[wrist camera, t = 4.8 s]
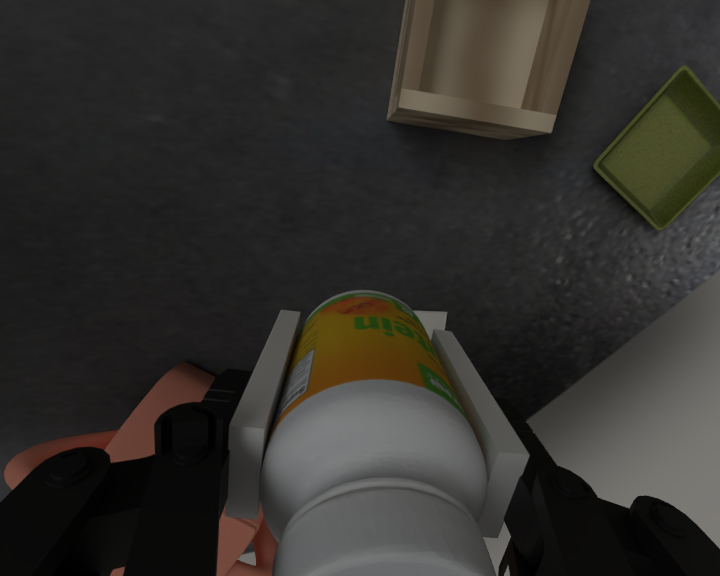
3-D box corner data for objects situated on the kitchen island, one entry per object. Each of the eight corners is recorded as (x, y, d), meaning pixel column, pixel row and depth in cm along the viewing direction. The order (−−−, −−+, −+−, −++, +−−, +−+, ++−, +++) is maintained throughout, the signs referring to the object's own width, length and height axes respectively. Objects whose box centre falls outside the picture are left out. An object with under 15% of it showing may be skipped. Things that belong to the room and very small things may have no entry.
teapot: (259, 524, 40) (217, 697, 27) (68, 435, 35) (-95, 593, 22) (364, 403, 35) (374, 543, 22) (159, 280, 31) (19, 367, 17)
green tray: (640, 229, 31) (661, 234, 29) (575, 166, 29) (591, 165, 27) (725, 144, 29) (753, 142, 27) (660, 69, 27) (685, 61, 25)
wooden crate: (386, 120, 27) (398, 107, 21) (410, -33, 24) (432, -101, 18) (506, 140, 28) (551, 132, 22) (543, -6, 25) (608, -62, 19)
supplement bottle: (451, 322, 15) (629, 588, 5) (386, 419, 16) (439, 759, 7) (333, 263, 14) (309, 467, 4) (275, 372, 15) (166, 695, 6)
